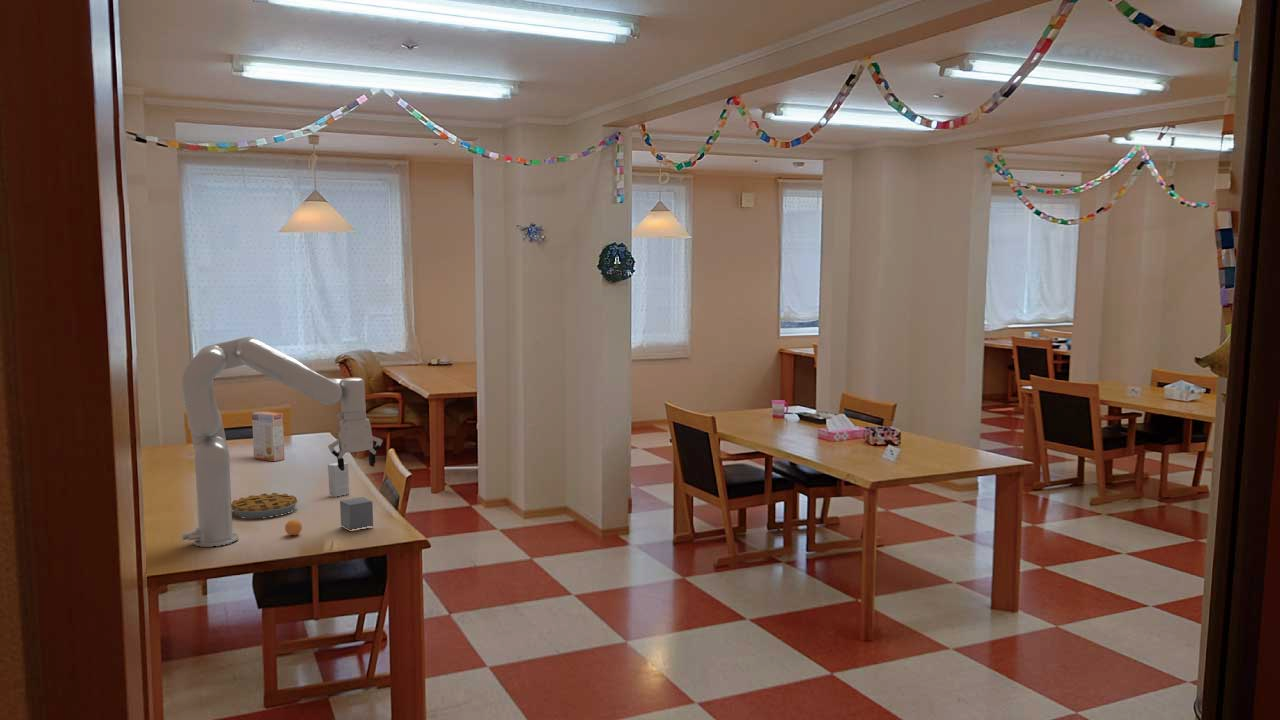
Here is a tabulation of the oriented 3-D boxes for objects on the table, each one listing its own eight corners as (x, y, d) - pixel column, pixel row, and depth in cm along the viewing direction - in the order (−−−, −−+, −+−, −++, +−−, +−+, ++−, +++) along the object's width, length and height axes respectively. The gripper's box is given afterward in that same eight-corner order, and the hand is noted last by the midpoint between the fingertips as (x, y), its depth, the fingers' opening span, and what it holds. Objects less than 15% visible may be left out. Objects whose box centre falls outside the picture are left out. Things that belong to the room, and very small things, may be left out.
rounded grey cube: (350, 532, 302) (349, 505, 301) (341, 527, 308) (340, 500, 307) (373, 528, 307) (372, 501, 306) (363, 523, 313) (362, 496, 312)
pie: (221, 511, 329) (221, 497, 329) (285, 501, 343) (284, 488, 343) (242, 524, 313) (241, 509, 312) (307, 513, 327) (307, 499, 326)
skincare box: (343, 492, 355) (341, 461, 354) (349, 494, 352) (348, 462, 351) (328, 495, 351) (327, 464, 349) (335, 497, 348) (334, 465, 347)
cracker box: (285, 459, 417) (283, 412, 415) (273, 462, 412) (271, 414, 410) (265, 456, 425) (263, 410, 423) (253, 459, 420) (251, 412, 418)
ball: (288, 538, 295) (287, 522, 295) (283, 534, 299) (282, 519, 299) (304, 535, 298) (303, 520, 298) (299, 532, 302) (298, 516, 302)
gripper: (329, 420, 299) (332, 473, 300) (384, 414, 308) (386, 466, 310) (323, 417, 305) (326, 469, 307) (377, 411, 314) (379, 462, 316)
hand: (357, 468), depth 308 cm, fingers open, 9 cm apart
